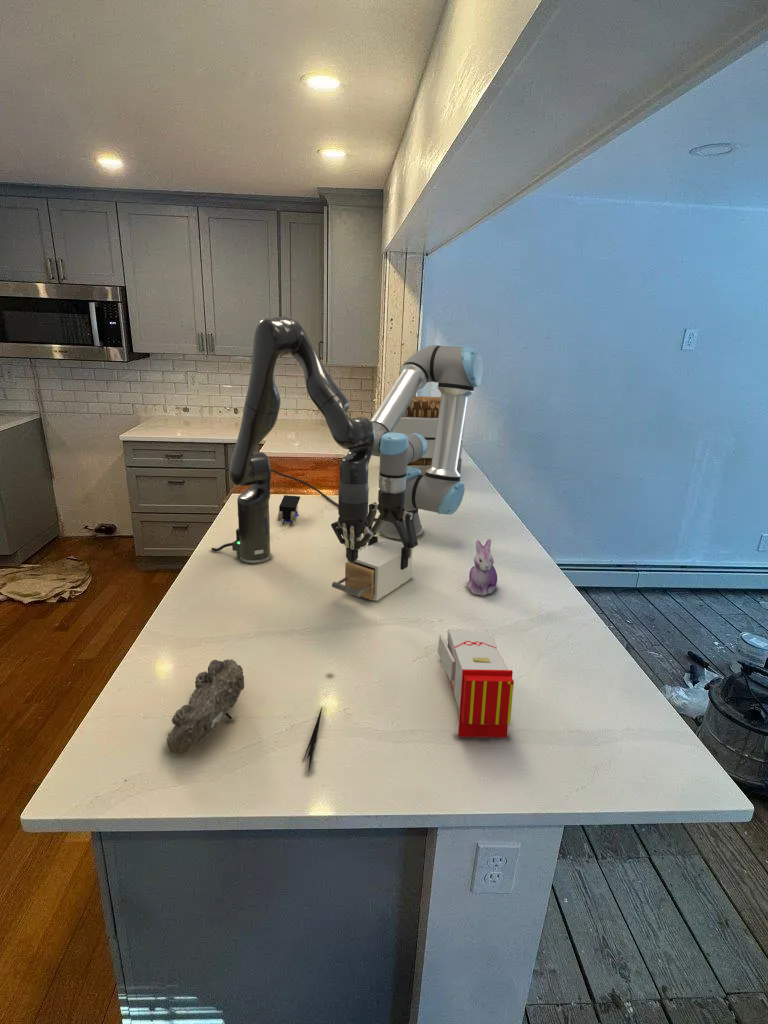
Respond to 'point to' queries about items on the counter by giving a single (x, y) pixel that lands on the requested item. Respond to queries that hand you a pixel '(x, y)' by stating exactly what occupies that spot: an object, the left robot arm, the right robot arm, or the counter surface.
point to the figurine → (483, 571)
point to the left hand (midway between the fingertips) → (352, 560)
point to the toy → (478, 682)
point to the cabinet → (385, 565)
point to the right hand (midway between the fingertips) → (388, 562)
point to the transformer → (423, 426)
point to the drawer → (357, 580)
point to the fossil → (206, 705)
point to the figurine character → (288, 509)
